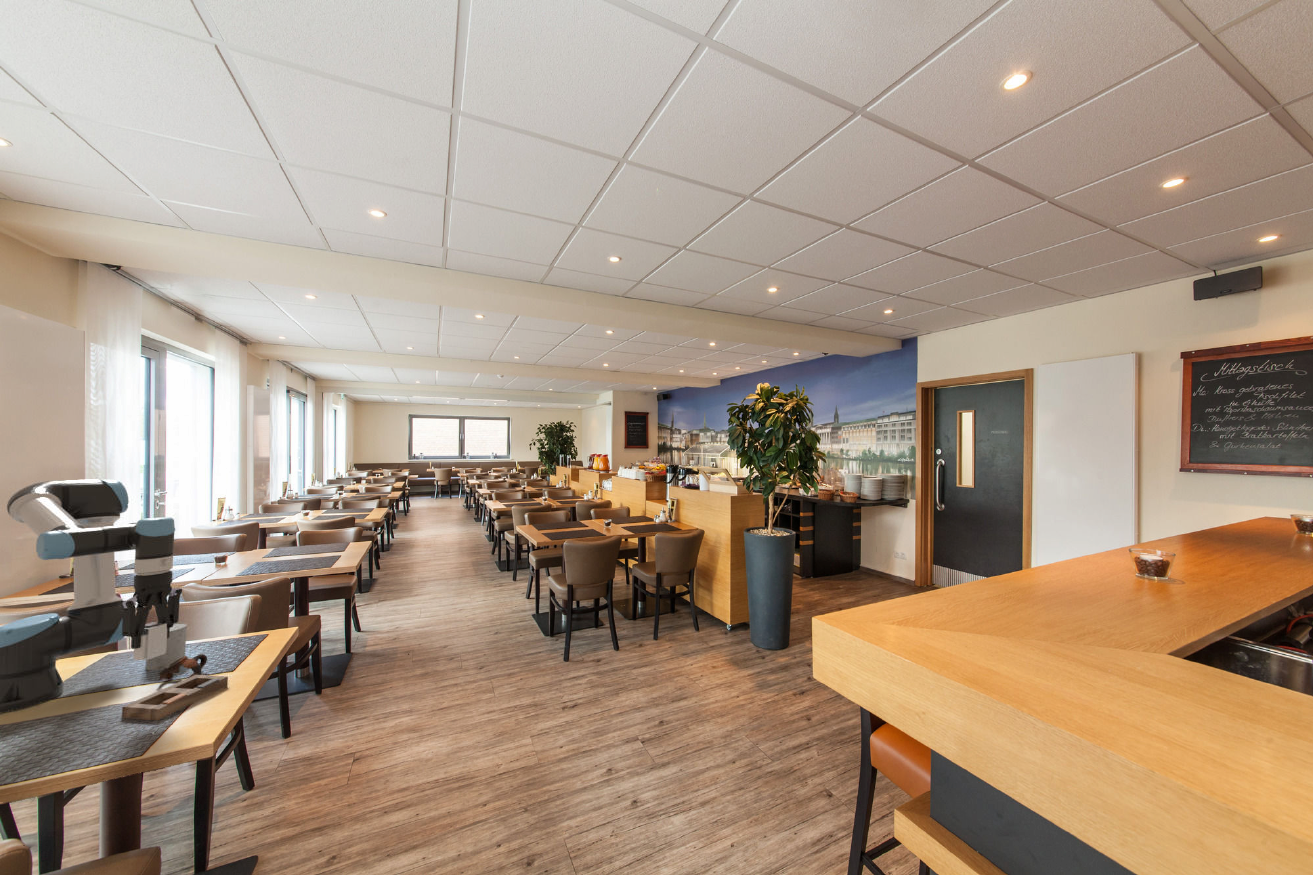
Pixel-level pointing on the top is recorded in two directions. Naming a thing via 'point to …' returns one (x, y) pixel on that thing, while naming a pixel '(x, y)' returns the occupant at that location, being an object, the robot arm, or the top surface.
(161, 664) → the grey cylinder
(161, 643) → the plug
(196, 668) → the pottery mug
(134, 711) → the socket board
